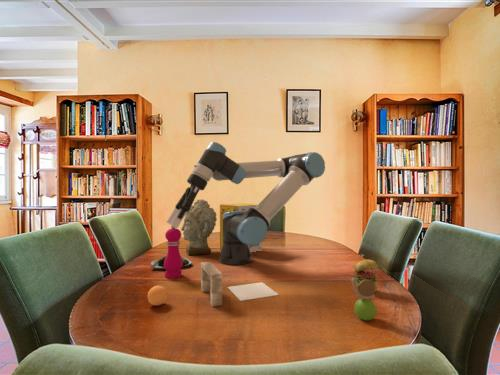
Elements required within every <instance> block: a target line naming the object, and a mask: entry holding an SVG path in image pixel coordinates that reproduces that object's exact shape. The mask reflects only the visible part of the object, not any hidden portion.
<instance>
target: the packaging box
mask: <svg viewBox="0 0 500 375" xmlns="http://www.w3.org/2000/svg"><path fill="white" fill-rule="evenodd" d="M257 205H258V204H254V203H228V204H227V203H226V204H225V203H223V204H219V250H220V251H221V249H222V246H223V214H224V213H225V212H234V211H248V210H249V209H250V208H251V207H256V206H257ZM248 246H249V249H250V252H254V253H257V252H256V251H259V252H261V250H262V251H263V241H262V242H260V243H258V244H255V245H249V244H248Z"/></svg>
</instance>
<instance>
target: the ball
mask: <svg viewBox="0 0 500 375" xmlns="http://www.w3.org/2000/svg"><path fill="white" fill-rule="evenodd" d="M167 299H168V290H167V289H166V288H165V287H164V286H162V285H155V286H153V287H151V288H150V290H149V291H148V292H147V301H148V302H149V304H151V305H152V306H155V307H156V306H158V307H159V306H161V305H163V304H164V303H165V302H166V300H167Z"/></svg>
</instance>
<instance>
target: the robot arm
mask: <svg viewBox="0 0 500 375" xmlns="http://www.w3.org/2000/svg"><path fill="white" fill-rule="evenodd" d="M226 153H227V148H226V147H224V146H223V145H222V144H220V143H219V142H217V141H211V142H210V143H209V144H208V145H207V147H206V149H204V151H203V154H202V155H201V157H200V159H199V160H198V161H197V164H194V165H193V170H192V173H190V175H189V177H188V178H187V179H186V182H187V183H188V184H189V185H190V186H189V187H187V188H186V189H185V192H184V193H183V194H182V195H181V197H180V199H179V200H178V202H177V203H176V204H175V207H174V209H173V210H172V212H171V213H170V216H169V217H168V219H167V220H166V223H167V224H168V225H170V226H171V225H172V226H174V227H176V229H178V228H179V226H180V224H181V223H182V221H184V218H185V215H186V213H187V211H189V210H190V208H191V206H193V205H194V204H193V203H195V199H196V197H197V195H198V194H199V192H200V191H204V190H205V188H206V187H207V185H208V182H210V180H211V179H213V180H215V181H219V182H221V181H230V182H231V183H232V184H235V185H240V184H241V183H242V182H243V181H244V179H251V178H252V179H254V178H266V177H276V176H277V177H278V178H282V179H281V180H280V181H279V183H277V184H276V186H274V187H273V189H272V190H271V191H270V192H269V193H268V194H267V195H266V196H265V197H264V198H263V199H262V200H261V201H260V202H259V203H258V204H257V206H256V207H251V208H250V209H249V210H248V211H234V212H225V213H224V214H223V246H222V249H221V250H220V252H219V256H218V257H219V258H218V260H219V261H218V262H220V263H221V264H225V265H231V266H232V265H235V266H237V265H246V264H249V263H251V262H252V260H253V258H252V257H253V256H252V253H251V252H250V249H249V246H248V244H249V245H255V244H258V243H260V242H262V243H263V241H264V240H265V238H266V237H267V235H268V229H269V228H270V227H271V220H272V219H273V218H274V217H275V216H276V215H277V213H279V211H281V209H282V208H284V206H285V205H286V204H287V203H288V202H289V201H290V200H291V199H292V197H294V195H295V194H296V193H297V192H298V191H299V190H300V189H301V187H303V186H307V185H309V184H310V183H311V181H313V180H314V178H315V179H317V178H320V177H322V176H323V175H324V173H325V171H326V166H325V165H326V162H325V160H324V158H323V156H322V155H321V154H320V153H319V152H315V151H314V152H313V151H310V152H307V153H300V154H295V155H291V156H288V157H281V158H280V157H279V158H276V160H266V161H265V160H264V161H262V160H261V161H246V162H244V161H243V162H236V161H234V160H233V159H232V158H230V157H228V156H227V155H226Z"/></svg>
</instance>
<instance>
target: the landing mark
mask: <svg viewBox="0 0 500 375" xmlns="http://www.w3.org/2000/svg"><path fill="white" fill-rule="evenodd" d="M227 289H228V290H229V291H230V292H231V293H232V294H233V295H234V296H235V298H237V299H238V300H239V301H240V302H246V301H251V300H258V299H265V298H269V297H270V298H271V297H276V296H277V297H278V296H280V294H278V292H276V291H275V290H273V289H272V288H271V287H269V286H268V285H266V284H265V283H264V282H262V281H261V282H256V283H254V282H253V283H248V284H240V285H238V284H237V285H232V286H227Z"/></svg>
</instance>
